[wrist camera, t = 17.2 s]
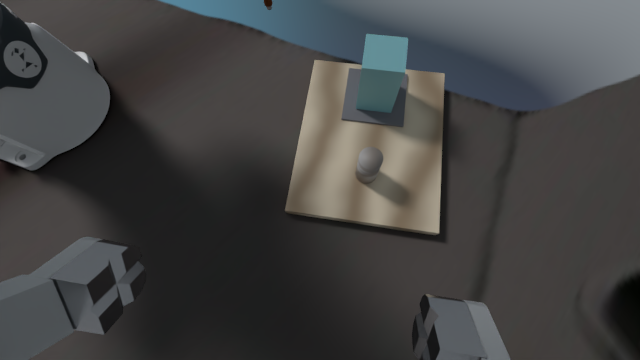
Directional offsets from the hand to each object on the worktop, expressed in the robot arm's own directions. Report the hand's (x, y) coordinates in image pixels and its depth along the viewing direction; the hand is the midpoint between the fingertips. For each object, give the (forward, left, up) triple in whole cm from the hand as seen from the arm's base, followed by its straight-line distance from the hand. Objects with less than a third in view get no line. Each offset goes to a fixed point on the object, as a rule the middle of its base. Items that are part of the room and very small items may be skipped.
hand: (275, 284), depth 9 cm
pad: (+4, +24, -26) cm, 36 cm away
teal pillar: (+4, +24, -26) cm, 36 cm away
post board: (+4, +18, -27) cm, 33 cm away
